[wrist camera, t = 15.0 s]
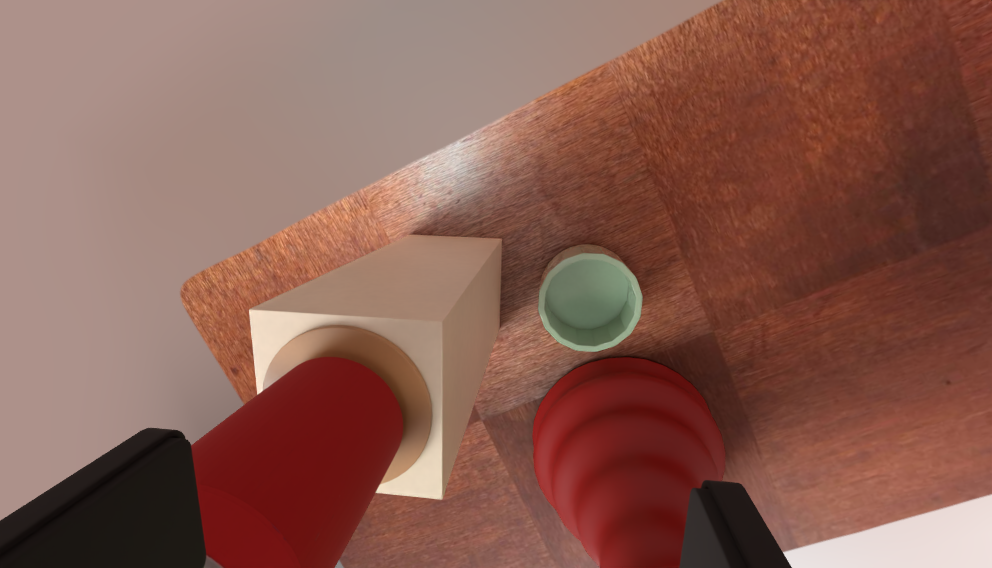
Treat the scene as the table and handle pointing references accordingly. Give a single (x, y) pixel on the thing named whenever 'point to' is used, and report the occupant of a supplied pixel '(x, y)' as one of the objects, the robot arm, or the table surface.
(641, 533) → the table lamp
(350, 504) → the beverage can
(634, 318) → the can holder
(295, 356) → the cork pad
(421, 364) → the block
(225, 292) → the table surface
